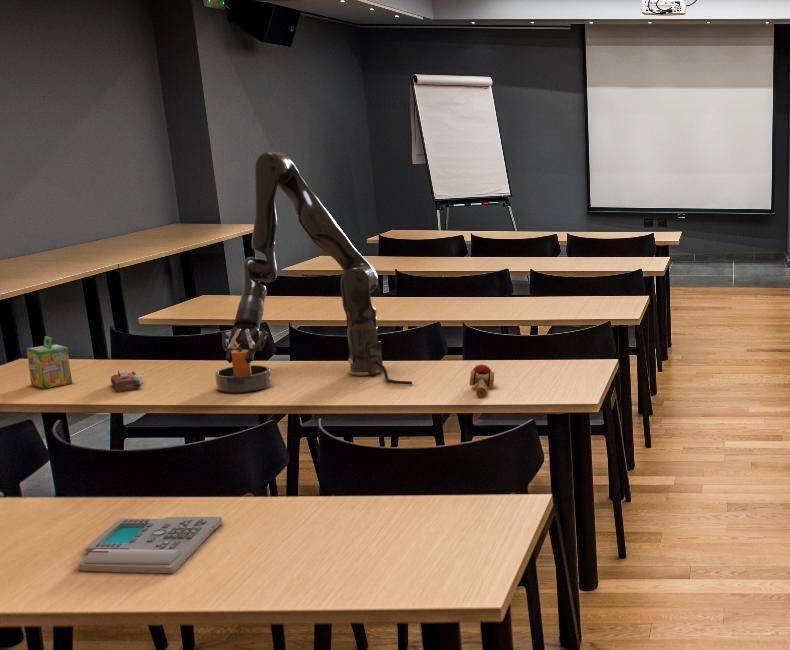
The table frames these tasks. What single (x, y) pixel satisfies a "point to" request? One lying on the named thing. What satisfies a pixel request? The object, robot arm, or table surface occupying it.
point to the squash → (240, 363)
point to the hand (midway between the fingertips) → (238, 361)
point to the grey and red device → (126, 381)
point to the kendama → (482, 379)
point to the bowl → (243, 380)
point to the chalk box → (49, 365)
